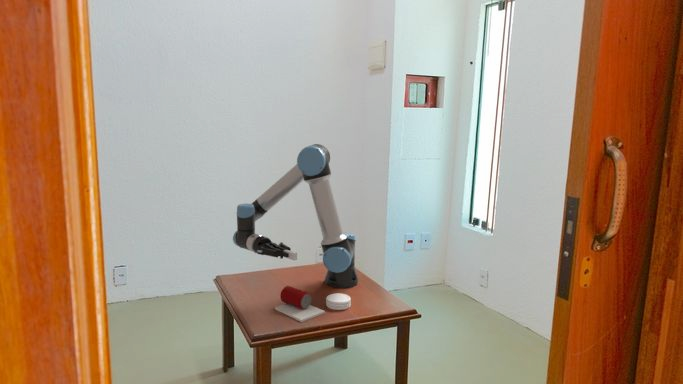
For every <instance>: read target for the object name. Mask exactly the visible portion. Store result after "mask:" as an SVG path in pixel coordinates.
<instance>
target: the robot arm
mask: <svg viewBox="0 0 683 384" xmlns="http://www.w3.org/2000/svg"><path fill="white" fill-rule="evenodd" d="M330 161H331V154H330V152H329V149H328V148H327V147H326V146H325V145H323V144H320V143H315V144H311V145H308V146H305V147H304V148H302V149H301V151H300V152H299V154H297V158H296V164H295V165H294V166H293V167H292V168H291V169H290V170H289V171H287V172H286V173H285V174H284V175H283V176H282V177H280V178H279V179H278V180H277V181H276V182H274V184H273V185H271V186H270V187H268V188H267V190H265V191H264V192H263V193H261V195H259V196H258V197H257V198H256V199H255V200H254V201H252V202H251V203H240V204H238V205H237V206H236V225H237V227H236V228H237V230H236V231H235V232H234V233H233V236H232V241H233V243H234V245H235V246H237V247H239V248H240V249H244V250H246V251H247V250H248V251H250V252H253V253H254V254H257V255H260V256H269V257H273V258H280V259H281V260H283V259H284V258H285V259H289V260H292V261H297V260H298V252H295V251H292V250H291V247H289V246H288V245H286V244H285V243H284V242H282V241H281V242H279V243H278V244H277V243H276V242H273V241H271V239H270V238H269V237H267V236H264V235H261V234H257V233H256V222H257V221H258V220H259V219H261V218H262V217H264V215H266V214H267V213H268V212H269V211H270V210H271V209H272V208H273V207H275V206H276V205H277V204H278V203H279V202H280V201H282V200H283V199H284V198H285V197H286V196H288V195H289V194H290V193H291V192H292V191H294V190H295V189H296V188H297V187H298V186H299V185H301V184H302V183H303V182H305V183H306V184H308V185H309V189H310V190H309V191H310V194H311V197H312V201H313V204H314V209H315V212H316V216H317V220H318V224H319V228H320V232H321V236H322V239H321V241H320V245H321V246H320V247H321V250H322V253H323V254H322V264H323V265H324V267H325V268H326V269H327V271H326V274H325V276H324V283H325V284H326V285H328V286H330V287H334V288H341V289H342V288H343V289H345V288H351V287H355V286H357V285H358V284H359V277H358V273H357V270H356V266H355V260H356V257H355V256H356V241H357V239H356V236H355V234H353V233H350V232H343V229H342V225H341V222H340V217H339V214H338V210H337V205H336V202H335V198H334V194H333V190H332V186H331V182H330V177H331V175H332V171H331V168H330Z"/></svg>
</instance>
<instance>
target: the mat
mask: <svg viewBox="0 0 683 384" xmlns="http://www.w3.org/2000/svg"><path fill="white" fill-rule="evenodd" d="M274 310H276V311H278V312H280V314H284V315H286V316H288V317H290V318H292V319H294V320H296V321H298V322H300V323H302V322H305V321H308V320H310V319H313V318H315V317H318V316H320V315H324V314H326V313H325V312H326V311H325V310H323V309H321V308H319V307H316V306H314V305H311V304H310V305H309V306H308V307H307V308H303V309H300V308H297V307H295V306H292V305H289V304H287V303H283V304H280V305H278V306H274Z"/></svg>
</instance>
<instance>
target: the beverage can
mask: <svg viewBox="0 0 683 384" xmlns="http://www.w3.org/2000/svg"><path fill="white" fill-rule="evenodd" d="M280 300H281V302H282V303H283V304H286V303H287V304H289V305H292V306H295V307H297V308H300V309H303V308H307V307H308V306H309V305H311V303H312V296H311V295H310V294H309V292H307V291H305V290H303V289H299V288H295V287H294V286H293V287H292V286H290V285H287V286H284V287H283V289H281V291H280Z"/></svg>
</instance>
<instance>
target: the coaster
mask: <svg viewBox="0 0 683 384" xmlns="http://www.w3.org/2000/svg"><path fill="white" fill-rule="evenodd" d="M351 303H352V302H351V296H350V295H348V294H346V293H331V294H329V295H327V296H326V298H325V305H326V307H327V308H328V309H330V310H334V311H344V310H348V309H349V308H350V307H351V306H352V305H351Z"/></svg>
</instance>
